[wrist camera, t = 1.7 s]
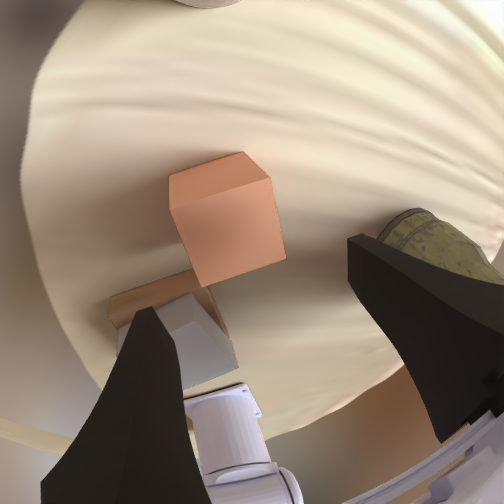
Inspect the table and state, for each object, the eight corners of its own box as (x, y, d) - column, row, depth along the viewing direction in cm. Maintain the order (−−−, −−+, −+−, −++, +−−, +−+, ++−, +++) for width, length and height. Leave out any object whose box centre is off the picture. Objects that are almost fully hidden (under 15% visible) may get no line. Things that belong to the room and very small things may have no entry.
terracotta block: (259, 216, 19) (286, 258, 15) (192, 238, 19) (201, 287, 15) (243, 151, 16) (270, 177, 12) (169, 175, 16) (169, 210, 12)
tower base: (226, 326, 24) (232, 348, 22) (151, 349, 24) (151, 372, 22) (199, 262, 20) (203, 284, 18) (111, 292, 20) (107, 316, 18)
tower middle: (231, 341, 22) (238, 367, 20) (167, 369, 22) (169, 395, 20) (190, 292, 18) (194, 320, 16) (118, 328, 18) (116, 356, 16)
